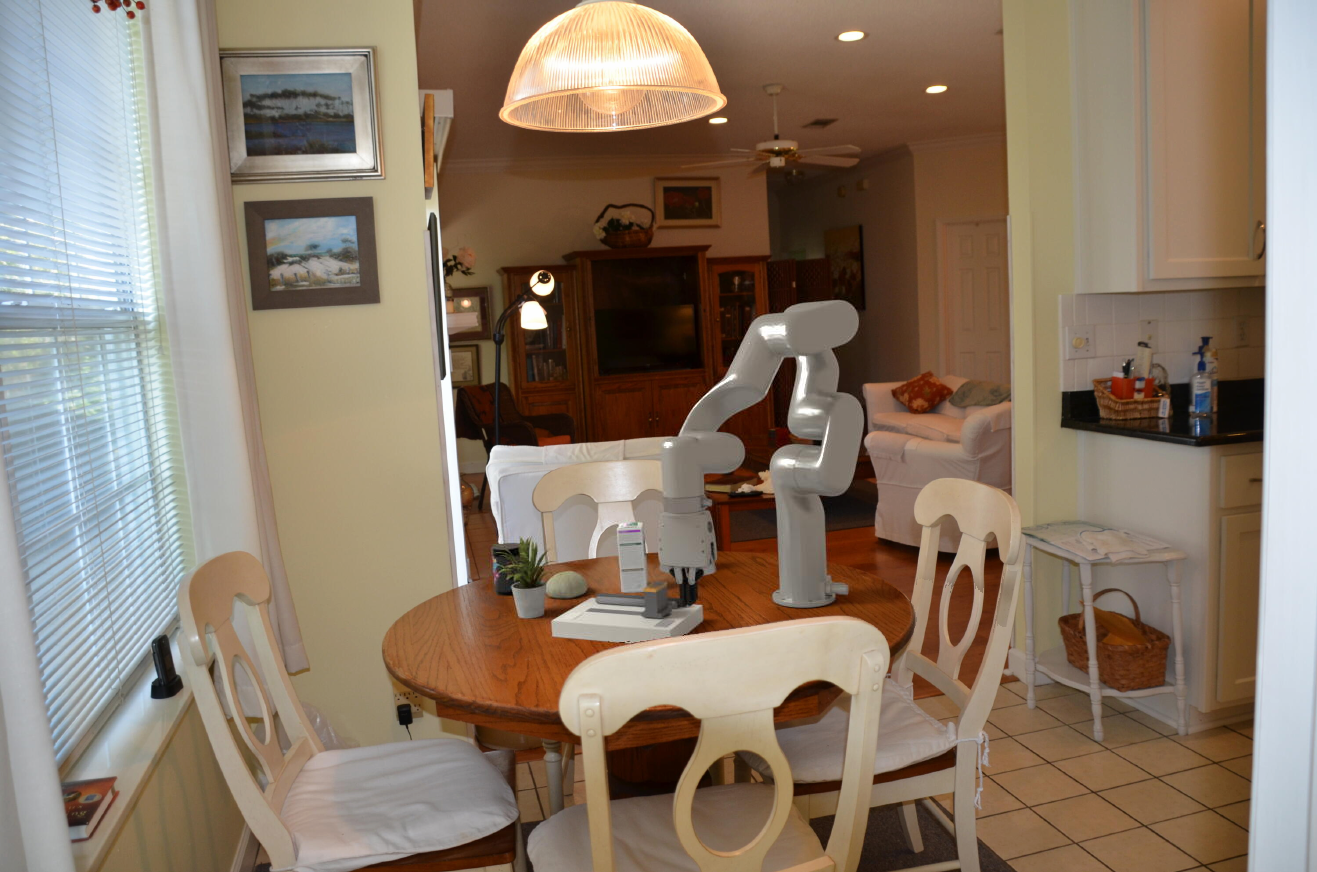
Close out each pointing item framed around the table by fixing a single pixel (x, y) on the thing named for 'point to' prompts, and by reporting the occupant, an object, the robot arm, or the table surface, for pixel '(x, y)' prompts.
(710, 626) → the table surface
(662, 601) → the handle
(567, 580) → the sea urchin shell
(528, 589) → the house plant
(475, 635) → the table surface
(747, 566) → the table surface
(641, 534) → the syrup box
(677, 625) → the base
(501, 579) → the supplement container
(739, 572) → the table surface
